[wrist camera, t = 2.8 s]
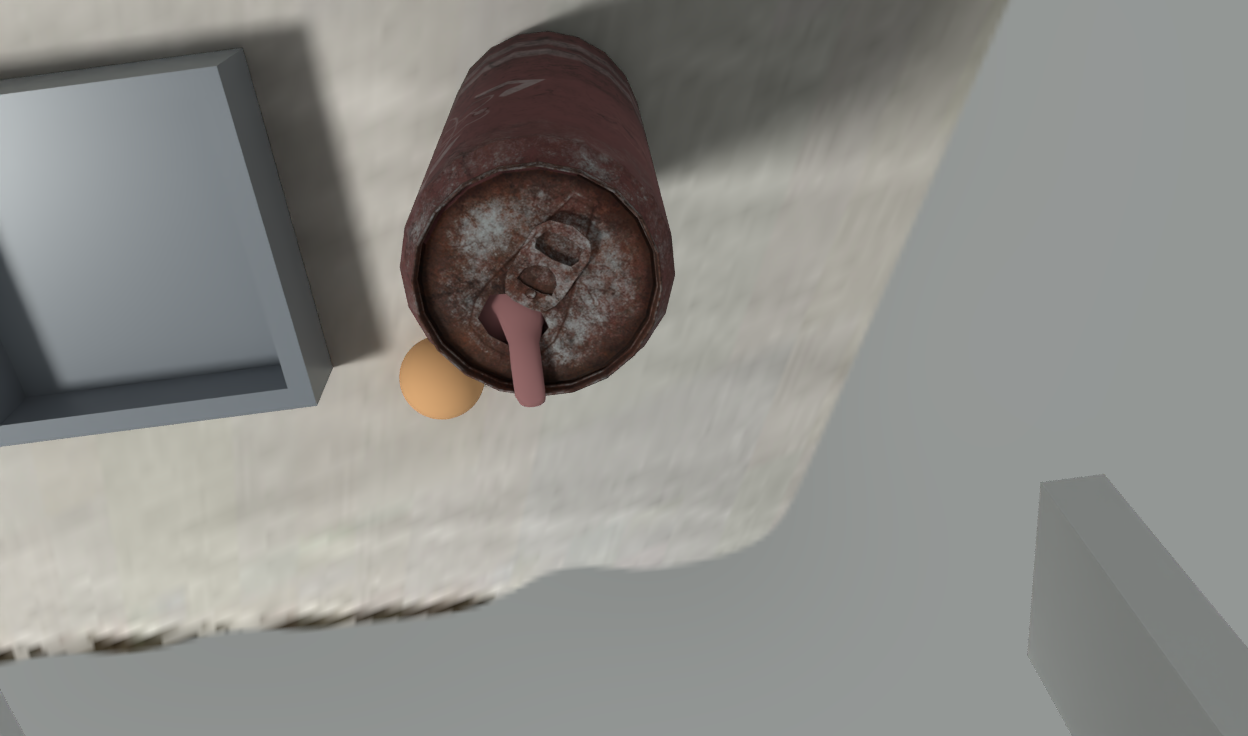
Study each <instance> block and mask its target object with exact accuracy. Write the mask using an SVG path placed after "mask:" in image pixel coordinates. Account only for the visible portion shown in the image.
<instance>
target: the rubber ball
mask: <svg viewBox="0 0 1248 736" xmlns="http://www.w3.org/2000/svg"><path fill="white" fill-rule="evenodd" d="M399 378H400V387H401V390H402V393H403V395H404V397H405V399H406V400H407V402H408V403H409V404H410V406H411V407H412V408H414V409H415V410H416V411H417V412H419V413H420V414H422V415H424V416H427V417H430V418H433V419H450V418H454V417H457V416H460V415H462V414H464V413H465V412H467V411H468V410H469V409H471V408H472V407H473V406H474V405H475V403H476V402H477V401H478V399H479V397H480V395H481V393H482V390H483V387H484V384H483V383H481V382H479V381H477V380H475V379H472V378H470V377H468V376H466V375H464V374H463V373H462V372H461V371H460V370H459V369H458V368H457V367H455V366H454V365H453V364H452V363H451V362H450V361H449V360H447V359H446V358H445V357H444V356H443V355H442V354H441V353H440V352H438V351H437V349H436V347H435V346H434V345H433V344H432V343H431V342H430V341H429V340H428V338H426V339H424V340H422V341H420V342H418V343H417V344H416V345H414V346H413V347H412V348H411V349H410V350H409V352H408V353H407V354H406V356H405V358H404V360H403V362H402V365H401V368H400V375H399Z"/></svg>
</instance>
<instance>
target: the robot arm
mask: <svg viewBox="0 0 1248 736" xmlns="http://www.w3.org/2000/svg"><path fill="white" fill-rule="evenodd" d="M1031 600H1032V601H1031V613H1030V626H1029V639H1028V651H1027V655H1028V657H1029V659H1030V661H1031V663H1032V665H1033V666H1034V668H1035V670H1036V672H1037V673H1038V675H1039V677H1040V679H1041V681H1042V682H1043V684H1044V686H1045V688H1046V690H1047V691H1048V693H1049V695H1050V697H1051V699H1052V701H1053V702H1054V704H1055V706H1056V708H1057V710H1058V711H1059V713H1060V715H1061V717H1062V719H1063V720H1064V722H1065V724H1066V726H1067V728H1068V729H1069V731H1070V733H1071V735H1072V736H1248V648H1247V646H1246V645H1245V644H1244V643H1243V642H1242V640H1241V639H1240V638H1239V637H1238V635H1237V634H1236V633H1235V632H1234V631H1233V630H1232V628H1231V627H1230V626H1229V625H1228V623H1227V622H1226V621H1225V620H1224V619H1223V617H1222V616H1221V615H1220V614H1219V613H1218V611H1217V610H1216V609H1215V608H1214V606H1213V605H1212V604H1211V603H1210V602H1209V600H1208V599H1207V598H1206V597H1205V596H1204V594H1203V593H1202V592H1201V591H1200V590H1199V588H1198V587H1197V586H1196V585H1195V583H1193V581H1192V580H1191V579H1190V577H1189V576H1188V575H1187V574H1186V573H1185V571H1184V570H1183V569H1182V568H1181V567H1180V565H1179V564H1178V563H1177V562H1176V561H1175V559H1174V558H1173V557H1172V556H1171V554H1170V553H1169V552H1168V551H1167V550H1166V548H1165V547H1164V546H1163V545H1162V544H1161V542H1160V541H1159V540H1158V539H1157V537H1156V536H1155V535H1154V534H1153V533H1152V531H1151V530H1150V529H1149V528H1148V526H1147V525H1146V524H1145V523H1144V522H1143V521H1142V519H1141V518H1140V517H1139V516H1138V514H1137V513H1136V512H1135V511H1134V510H1133V508H1132V507H1131V506H1130V505H1129V503H1128V502H1127V501H1126V500H1125V499H1124V497H1123V496H1122V495H1121V494H1120V493H1119V491H1118V490H1117V489H1116V488H1115V487H1114V485H1113V484H1112V483H1111V482H1110V480H1109V479H1108V478H1107V477H1106V476H1105V475H1104V474H1102V475H1093V476H1085V477H1077V478H1070V479H1062V480H1055V481H1046V482H1041V483H1040V496H1039V509H1038V522H1037V536H1036V549H1035V561H1034V573H1033V586H1032V599H1031ZM0 736H25V734H24V733H23V731H22V729H21V727H20V726H19V723H18V722H17V720H16V718H15V716H14V714H13V712H12V710H11V708H10V707H9V705H8V703H7V701H6V699H5V697H4V695H3V694H2V692H1V690H0Z"/></svg>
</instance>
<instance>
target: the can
mask: <svg viewBox="0 0 1248 736" xmlns="http://www.w3.org/2000/svg"><path fill="white" fill-rule="evenodd" d="M400 270H401V275H402V279H403V284H404V288H405V293H406V297H407V302H408V306H409V308H410V310H411V312H412V313H413V315H414V317H415V318H416V320H417V321H418V323H419V325H420V326H421V328H422V330H423V331H424V333H425V335H426V336H427V338H428V340H429V341H430V342H431V343H432V344H433V345H434V346H435V347H436V349H437V351H438V352H440V353H441V354H442V355H443V356H444V357H445V358H446V359H447V360H449V361H450V362H451V363H452V364H453V365H454V366H455V367H457V368H458V369H459V370H460V371H461V372H462V373H463V374H464V375H466V376H468V377H470V378H472V379H475V380H477V381H479V382H481V383H483V384H485V385H488V386H490V387H492V388H494V389H496V390H498V391H503V392H509V393H515V396H516V398H517V400H518V401H519V403H520V404H521V405H523V406H525V407H535V406H539V405H541V404H543V403H544V402H545V398H546V396H547V395H555V394H564V393H572V392H575V391H578V390H580V389H582V388H585V387H587V386H590V385H592V384H594V383H597V382H599V381H602V380H604V379H606V378H608V377H609V376H610V375H612V374H613V373H614V372H615V371H616V370H618V369H619V368H620V367H621V366H622V365H624V364H625V363H626V362H627V361H628V360H630V359H631V358H632V357H633V356H635V354H636V353H637V352H638V351H639V350H640V349H642V348H643V347H644V346H645V344H646V343H647V341H648V340H649V338H650V337H651V335H652V333H653V332H654V330H655V329H656V327H657V326H658V324H659V323H660V321H661V319H662V318H663V316H664V315H665V313H666V309H667V305H668V301H669V297H670V293H671V289H672V285H673V281H674V277H675V269H674V258H673V247H672V236H671V232H670V228H669V224H668V220H667V216H666V212H665V209H664V205H663V201H662V197H661V193H660V189H659V185H658V181H657V178H656V174H655V170H654V166H653V162H652V158H651V154H650V150H649V147H648V143H647V139H646V135H645V131H644V127H643V123H642V120H641V116H640V112H639V108H638V104H637V101H636V99H635V97H634V94H633V92H632V90H631V87H630V85H629V83H628V81H627V78H626V76H625V74H624V73H623V72H622V71H621V70H620V69H619V68H618V67H617V66H616V64H615V63H614V62H613V61H612V60H611V59H610V58H609V57H608V56H607V54H606V53H605V52H603V51H601V50H599V49H598V48H596V47H594V46H593V45H591V44H589V43H587V42H586V41H584V40H582V39H580V38H579V37H574V36H569V35H565V34H560V33H555V32H550V31H546V32H537V33H529V34H521V35H517V36H515V37H513V38H511V39H508V40H506V41H504V42H502V43H500V44H498V45H496V46H494V47H492V48H490V49H489V50H488V51H487V52H486V53H485V54H484V55H483V56H482V57H481V58H480V59H479V60H478V61H477V62H476V63H475V64H474V65H473V66H472V67H471V68H470V69H469V71H468V73H467V75H466V77H465V79H464V81H463V83H462V85H461V87H460V89H459V91H458V93H457V96H456V98H455V101H454V103H453V106H452V108H451V111H450V113H449V116H448V118H447V121H446V124H445V126H444V129H443V131H442V134H441V136H440V139H439V141H438V144H437V146H436V149H435V151H434V154H433V157H432V159H431V162H430V164H429V167H428V169H427V172H426V174H425V177H424V179H423V182H422V185H421V187H420V190H419V192H418V195H417V197H416V200H415V202H414V205H413V207H412V210H411V213H410V215H409V218H408V220H407V223H406V225H405V229H404V238H403V246H402V254H401V262H400Z"/></svg>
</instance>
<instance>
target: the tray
mask: <svg viewBox="0 0 1248 736" xmlns="http://www.w3.org/2000/svg"><path fill="white" fill-rule="evenodd" d="M332 369H333V367H332V364H331V360H330V357H329V353H328V350H327V346H326V342H325V339H324V335H323V332H322V328H321V325H320V321H319V318H318V314H317V310H316V307H315V303H314V300H313V296H312V293H311V289H310V286H309V282H308V279H307V275H306V271H305V268H304V264H303V261H302V257H301V254H300V250H299V247H298V243H297V239H296V236H295V232H294V229H293V225H292V222H291V218H290V215H289V211H288V208H287V204H286V200H285V197H284V193H283V190H282V186H281V183H280V179H279V176H278V172H277V168H276V165H275V161H274V158H273V154H272V151H271V147H270V144H269V140H268V137H267V133H266V129H265V126H264V122H263V119H262V115H261V112H260V108H259V105H258V101H257V97H256V94H255V90H254V87H253V83H252V80H251V76H250V73H249V69H248V65H247V62H246V58H245V55H244V51H243V48H237V49H230V50H222V51H215V52H207V53H200V54H192V55H185V56H177V57H170V58H162V59H155V60H147V61H140V62H132V63H125V64H117V65H110V66H102V67H95V68H87V69H80V70H72V71H65V72H57V73H50V74H42V75H35V76H27V77H20V78H12V79H5V80H0V447H2V446H10V445H17V444H25V443H33V442H40V441H48V440H56V439H64V438H71V437H79V436H87V435H94V434H102V433H110V432H118V431H125V430H133V429H141V428H148V427H156V426H164V425H172V424H179V423H187V422H195V421H202V420H210V419H218V418H226V417H233V416H241V415H249V414H256V413H264V412H272V411H280V410H287V409H295V408H303V407H311V406H317V404H318V402H319V400H320V397H321V395H322V393H323V390H324V388H325V385H326V383H327V381H328V378H329V376H330V374H331V371H332Z"/></svg>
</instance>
